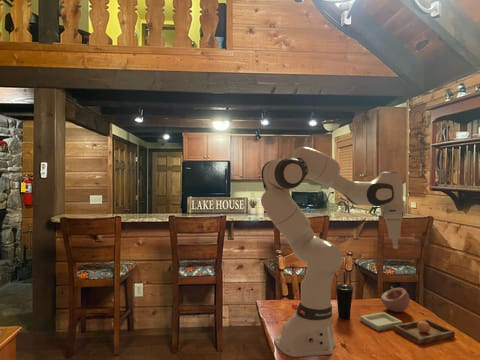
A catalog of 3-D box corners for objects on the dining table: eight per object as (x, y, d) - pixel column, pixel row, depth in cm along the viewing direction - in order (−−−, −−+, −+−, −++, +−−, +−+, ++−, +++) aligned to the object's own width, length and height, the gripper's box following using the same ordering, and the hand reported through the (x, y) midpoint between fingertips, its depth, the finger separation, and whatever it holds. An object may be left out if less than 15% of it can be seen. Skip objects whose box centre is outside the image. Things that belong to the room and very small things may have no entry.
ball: (424, 335, 123) (424, 324, 123) (414, 330, 127) (414, 319, 127) (432, 334, 124) (432, 322, 124) (422, 329, 128) (422, 318, 128)
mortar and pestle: (377, 305, 154) (377, 282, 154) (402, 306, 153) (402, 282, 154) (387, 316, 142) (387, 290, 142) (414, 316, 141) (414, 291, 142)
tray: (377, 331, 128) (377, 326, 128) (360, 320, 137) (360, 316, 137) (402, 326, 132) (402, 321, 132) (383, 316, 142) (383, 312, 142)
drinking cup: (354, 322, 136) (354, 275, 136) (336, 320, 138) (336, 274, 138) (352, 314, 143) (352, 270, 144) (334, 313, 145) (334, 269, 145)
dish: (419, 345, 117) (419, 339, 117) (394, 330, 128) (394, 325, 128) (454, 337, 123) (454, 331, 123) (426, 324, 134) (427, 319, 134)
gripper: (384, 207, 139) (387, 239, 139) (383, 215, 120) (386, 251, 121) (400, 207, 136) (403, 239, 136) (402, 215, 118) (405, 252, 118)
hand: (395, 245), depth 128 cm, fingers open, 8 cm apart
